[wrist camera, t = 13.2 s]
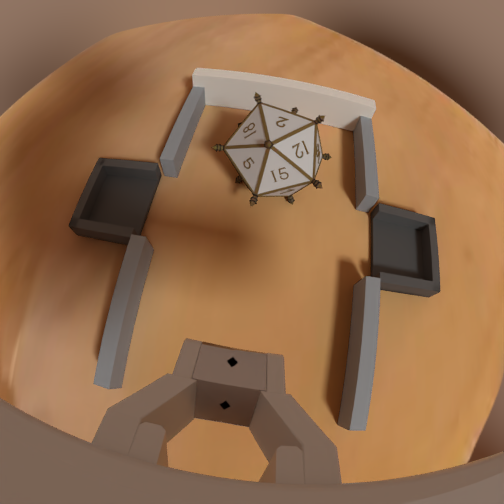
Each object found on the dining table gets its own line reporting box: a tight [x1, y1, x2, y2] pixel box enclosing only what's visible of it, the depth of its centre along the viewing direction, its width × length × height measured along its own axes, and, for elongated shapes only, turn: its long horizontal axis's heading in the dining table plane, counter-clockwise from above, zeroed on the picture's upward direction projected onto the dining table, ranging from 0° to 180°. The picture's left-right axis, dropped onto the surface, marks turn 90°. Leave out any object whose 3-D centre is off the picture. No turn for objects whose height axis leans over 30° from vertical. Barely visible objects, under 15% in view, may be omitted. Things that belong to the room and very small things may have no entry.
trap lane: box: [69, 68, 440, 430], centre depth 23 cm, size 31×29×4 cm
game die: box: [211, 92, 331, 206], centre depth 23 cm, size 9×8×10 cm
